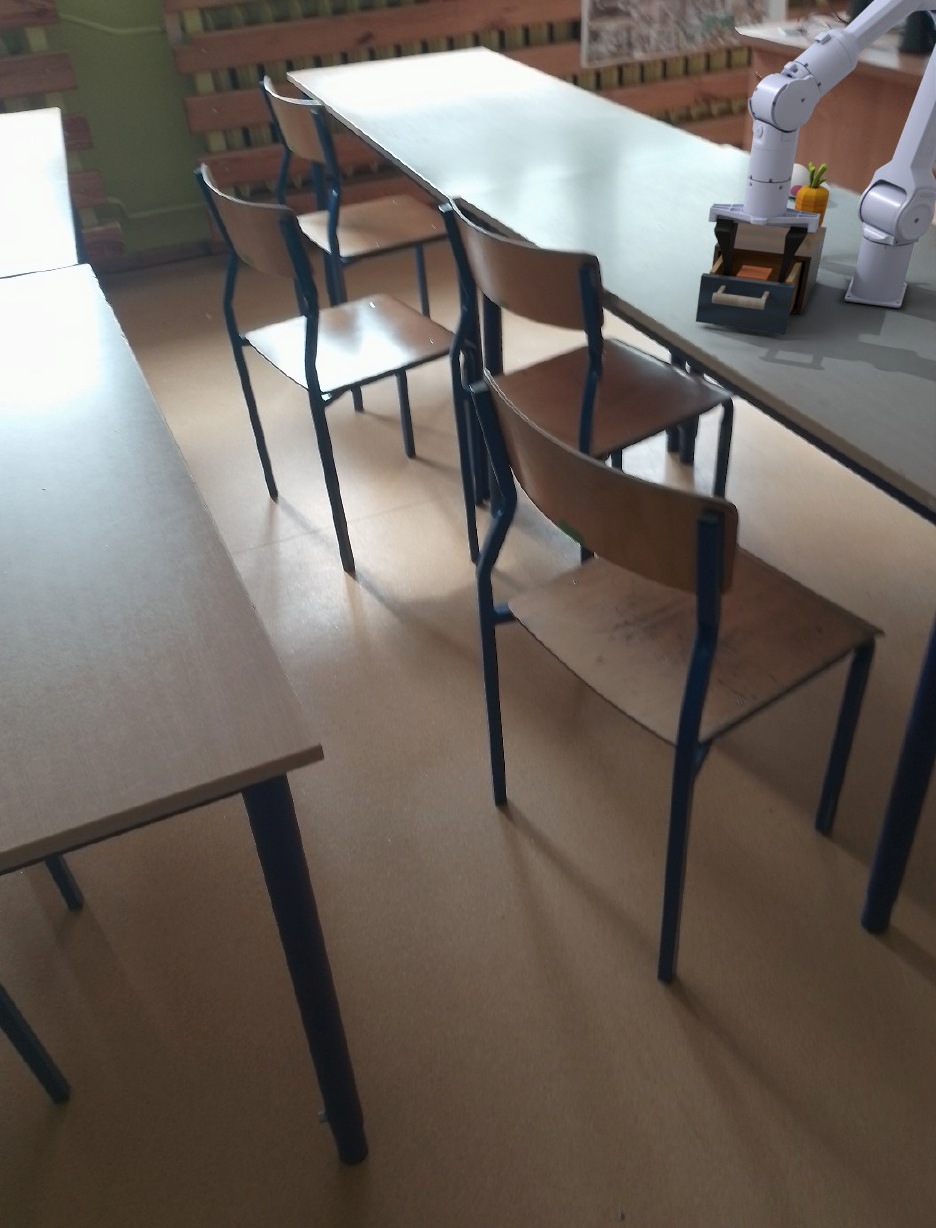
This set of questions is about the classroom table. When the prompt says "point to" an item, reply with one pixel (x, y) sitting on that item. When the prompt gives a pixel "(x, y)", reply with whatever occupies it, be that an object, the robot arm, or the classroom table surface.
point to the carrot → (813, 194)
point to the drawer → (749, 295)
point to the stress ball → (798, 179)
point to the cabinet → (781, 252)
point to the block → (755, 273)
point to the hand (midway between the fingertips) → (754, 277)
